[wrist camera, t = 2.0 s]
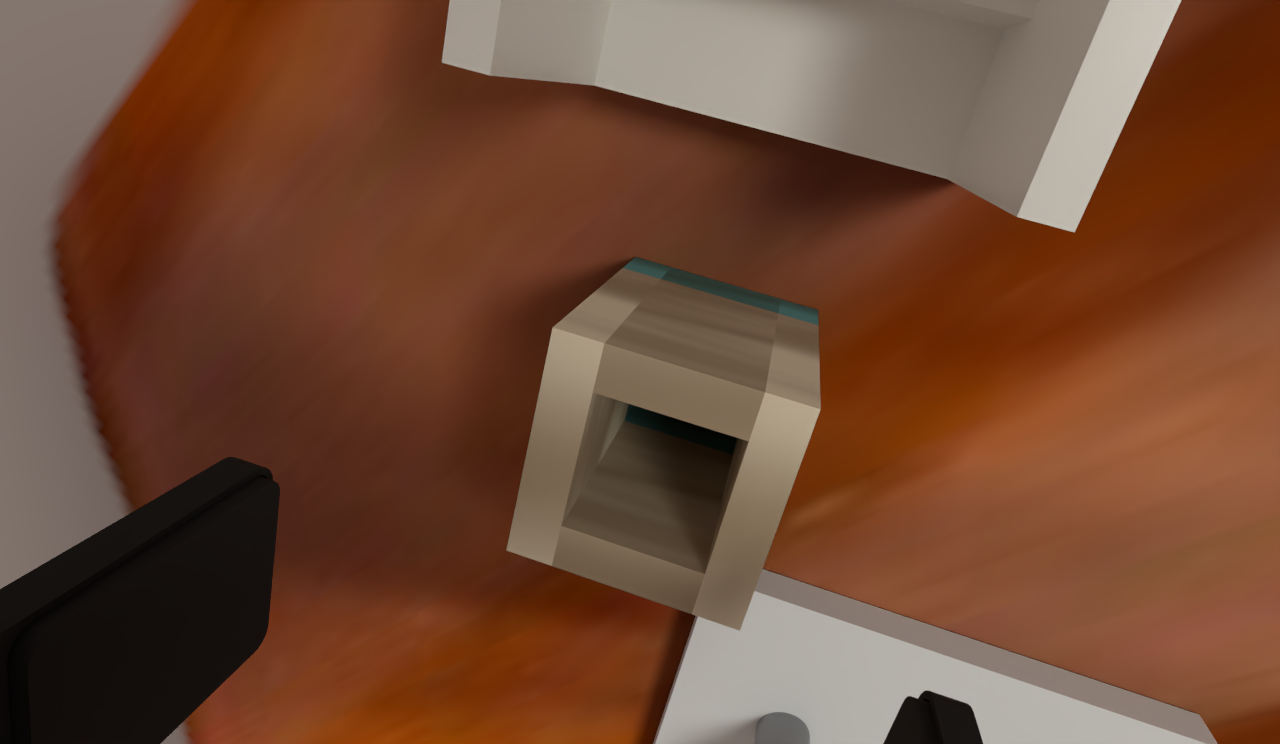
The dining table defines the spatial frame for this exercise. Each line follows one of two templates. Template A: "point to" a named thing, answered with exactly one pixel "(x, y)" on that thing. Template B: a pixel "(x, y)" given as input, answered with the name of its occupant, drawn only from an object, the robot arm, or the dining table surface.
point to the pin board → (884, 681)
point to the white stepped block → (861, 76)
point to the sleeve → (669, 438)
